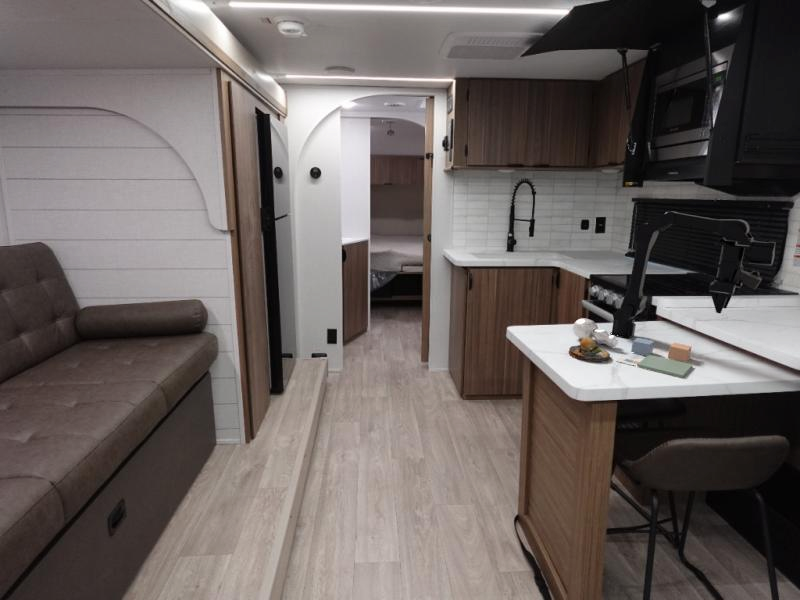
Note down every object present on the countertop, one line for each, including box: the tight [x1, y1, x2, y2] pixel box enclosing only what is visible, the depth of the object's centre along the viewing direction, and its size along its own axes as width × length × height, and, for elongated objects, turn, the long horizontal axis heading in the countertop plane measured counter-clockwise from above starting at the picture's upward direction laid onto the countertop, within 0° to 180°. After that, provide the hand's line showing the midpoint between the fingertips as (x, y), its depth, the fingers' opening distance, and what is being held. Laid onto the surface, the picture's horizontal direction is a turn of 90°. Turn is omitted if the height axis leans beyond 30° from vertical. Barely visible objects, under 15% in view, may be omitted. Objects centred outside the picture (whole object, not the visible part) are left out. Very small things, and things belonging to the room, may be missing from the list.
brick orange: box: [667, 342, 692, 363], centre depth 154 cm, size 5×5×4 cm
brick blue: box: [630, 337, 655, 357], centre depth 158 cm, size 5×5×4 cm
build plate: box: [637, 354, 694, 379], centre depth 146 cm, size 12×12×1 cm
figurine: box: [572, 317, 619, 349], centre depth 166 cm, size 11×7×15 cm
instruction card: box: [616, 356, 644, 369], centre depth 149 cm, size 8×6×1 cm
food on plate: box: [568, 335, 611, 364], centre depth 153 cm, size 12×12×8 cm
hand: (721, 310), depth 155 cm, fingers open, 9 cm apart
